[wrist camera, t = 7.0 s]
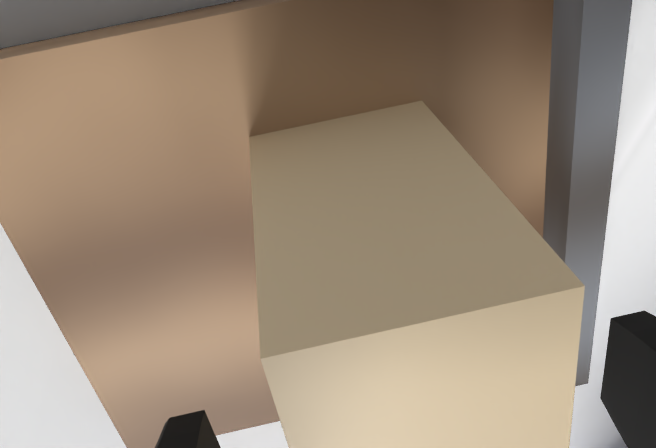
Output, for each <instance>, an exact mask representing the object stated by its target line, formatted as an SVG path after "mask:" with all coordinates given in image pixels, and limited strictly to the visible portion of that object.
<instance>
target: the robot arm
mask: <svg viewBox="0 0 656 448" xmlns="http://www.w3.org/2000/svg"><path fill="white" fill-rule="evenodd" d="M601 400H602V402H603V404H604V405H605V407H606V409H607V411H608V413H609V415H610V417H611V419H612V420H613V422H614V424H615V426H616V428H617V430H618V431H619V433H620V435H621V437H622V438H623V440H624V442H625V444H626V445H627V447H628V448H656V317H655V316H653V315H652V314H650V313H648V312H646V311H641V312H637V313H632V314H628V315H623V316H619V317H614V318H611V322H610V329H609V337H608V345H607V352H606V360H605V368H604V375H603V383H602V391H601ZM155 448H220V446H219V443H218V441H217V438H216V436H215V434H214V431H213V429H212V426H211V424H210V422H209V419H208V417H207V415H206V412H205V410H201V411H197V412H192V413H188V414H183V415H179V416H175V417H170V418H169V419H168V420H167V422H166V423H165V425H164V427H163V430H162V432H161V434H160V437H159V439H158V442H157V444H156V446H155Z"/></svg>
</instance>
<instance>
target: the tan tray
mask: <svg viewBox="0 0 656 448" xmlns="http://www.w3.org/2000/svg"><path fill="white" fill-rule="evenodd" d="M631 6H632V0H239V1H234V2H230V3H225V4H220V5H215V6H210V7H205V8H200V9H195V10H190V11H185V12H180V13H175V14H170V15H165V16H161V17H156V18H151V19H146V20H141V21H136V22H131V23H126V24H121V25H116V26H111V27H106V28H101V29H97V30H92V31H87V32H82V33H77V34H72V35H67V36H62V37H57V38H52V39H47V40H42V41H37V42H33V43H28V44H23V45H18V46H13V47H8V48H3V49H0V223H1V225H2V227H3V228H4V230H5V232H6V234H7V235H8V237H9V239H10V241H11V243H12V244H13V246H14V248H15V250H16V251H17V253H18V255H19V257H20V259H21V260H22V262H23V264H24V266H25V267H26V269H27V271H28V273H29V275H30V276H31V278H32V280H33V282H34V283H35V285H36V287H37V289H38V291H39V292H40V294H41V296H42V298H43V299H44V301H45V303H46V305H47V307H48V308H49V310H50V312H51V314H52V315H53V317H54V319H55V321H56V323H57V324H58V326H59V328H60V330H61V331H62V333H63V335H64V337H65V339H66V340H67V342H68V344H69V346H70V347H71V349H72V351H73V353H74V355H75V356H76V358H77V360H78V362H79V363H80V365H81V367H82V369H83V371H84V372H85V374H86V376H87V378H88V379H89V381H90V383H91V385H92V387H93V388H94V390H95V392H96V394H97V395H98V397H99V399H100V401H101V403H102V404H103V406H104V408H105V410H106V411H107V413H108V415H109V417H110V419H111V420H112V422H113V424H114V426H115V427H116V429H117V431H118V433H119V435H120V436H121V438H122V440H123V442H124V443H125V445H126V447H127V448H155V446H156V444H157V442H158V439H159V437H160V434H161V432H162V430H163V427H164V425H165V423H166V422H167V420H168V419H169V418H170V417H175V416H179V415H183V414H188V413H192V412H197V411H201V410H205V412H206V415H207V417H208V419H209V422H210V424H211V426H212V429H213V431H214V434H215V436H216V435H220V434H224V433H229V432H233V431H237V430H242V429H246V428H250V427H255V426H259V425H264V424H268V423H272V422H277V421H280V418H279V415H278V412H277V409H276V406H275V403H274V400H273V397H272V393H271V390H270V387H269V384H268V381H267V378H266V375H265V372H264V368H263V365H262V362H261V359H260V341H259V321H258V302H257V283H256V263H255V244H254V225H253V205H252V186H251V167H250V147H249V137H252V136H256V135H261V134H266V133H271V132H275V131H280V130H285V129H289V128H294V127H299V126H304V125H308V124H313V123H318V122H323V121H327V120H332V119H337V118H342V117H346V116H351V115H356V114H360V113H365V112H370V111H375V110H379V109H384V108H389V107H394V106H398V105H403V104H408V103H413V102H417V101H423V102H424V103H425V105H426V106H427V107H428V108H429V109H430V110H431V111H432V113H433V114H434V115H435V116H436V117H437V118H438V119H439V121H440V122H441V123H442V124H443V125H444V126H445V127H446V128H447V130H448V131H449V132H450V133H451V134H452V135H453V136H454V138H455V139H456V140H457V141H458V142H459V143H460V144H461V146H462V147H463V148H464V149H465V150H466V151H467V152H468V154H469V155H470V156H471V157H472V158H473V159H474V160H475V161H476V163H477V164H478V165H479V166H480V167H481V168H482V169H483V171H484V172H485V173H486V174H487V175H488V176H489V177H490V179H491V180H492V181H493V182H494V183H495V184H496V185H497V187H498V188H499V189H500V190H501V191H502V192H503V193H504V194H505V196H506V197H507V198H508V199H509V200H510V201H511V202H512V204H513V205H514V206H515V207H516V208H517V209H518V210H519V212H520V213H521V214H522V215H523V216H524V217H525V218H526V220H527V221H528V222H529V223H530V224H531V225H532V226H533V227H534V229H535V230H536V231H537V232H538V233H539V234H540V235H541V237H542V238H543V239H544V240H545V241H546V242H547V243H548V245H549V246H550V247H551V248H552V249H553V250H554V251H555V253H556V254H557V255H558V256H559V257H560V258H561V259H562V261H563V262H564V263H565V264H566V265H567V266H568V267H569V268H570V270H571V271H572V272H573V273H574V274H575V275H576V276H577V278H578V279H579V280H580V281H581V282H582V283H583V284H584V286H585V290H584V300H583V311H582V321H581V331H580V341H579V351H578V361H577V372H576V382H575V386H578V385H583V384H587V383H588V379H589V370H590V361H591V353H592V344H593V336H594V327H595V318H596V310H597V301H598V292H599V284H600V275H601V266H602V258H603V249H604V240H605V232H606V223H607V214H608V206H609V197H610V188H611V180H612V171H613V162H614V154H615V145H616V136H617V128H618V119H619V110H620V102H621V93H622V84H623V76H624V67H625V58H626V50H627V41H628V32H629V24H630V15H631Z"/></svg>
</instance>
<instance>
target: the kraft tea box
mask: <svg viewBox="0 0 656 448" xmlns="http://www.w3.org/2000/svg"><path fill="white" fill-rule="evenodd" d="M249 147H250V167H251V186H252V205H253V225H254V244H255V263H256V283H257V302H258V321H259V341H260V359H261V362H262V365H263V368H264V372H265V375H266V378H267V381H268V384H269V387H270V390H271V393H272V397H273V400H274V403H275V406H276V409H277V412H278V415H279V418H280V422H281V425H282V428H283V431H284V434H285V437H286V440H287V443H288V447H289V448H569V443H570V433H571V422H572V412H573V402H574V392H575V382H576V372H577V361H578V351H579V341H580V331H581V321H582V311H583V300H584V290H585V286H584V284H583V283H582V282H581V281H580V280H579V279H578V278H577V276H576V275H575V274H574V273H573V272H572V271H571V270H570V268H569V267H568V266H567V265H566V264H565V263H564V262H563V261H562V259H561V258H560V257H559V256H558V255H557V254H556V253H555V251H554V250H553V249H552V248H551V247H550V246H549V245H548V243H547V242H546V241H545V240H544V239H543V238H542V237H541V235H540V234H539V233H538V232H537V231H536V230H535V229H534V227H533V226H532V225H531V224H530V223H529V222H528V221H527V220H526V218H525V217H524V216H523V215H522V214H521V213H520V212H519V210H518V209H517V208H516V207H515V206H514V205H513V204H512V202H511V201H510V200H509V199H508V198H507V197H506V196H505V194H504V193H503V192H502V191H501V190H500V189H499V188H498V187H497V185H496V184H495V183H494V182H493V181H492V180H491V179H490V177H489V176H488V175H487V174H486V173H485V172H484V171H483V169H482V168H481V167H480V166H479V165H478V164H477V163H476V161H475V160H474V159H473V158H472V157H471V156H470V155H469V154H468V152H467V151H466V150H465V149H464V148H463V147H462V146H461V144H460V143H459V142H458V141H457V140H456V139H455V138H454V136H453V135H452V134H451V133H450V132H449V131H448V130H447V128H446V127H445V126H444V125H443V124H442V123H441V122H440V121H439V119H438V118H437V117H436V116H435V115H434V114H433V113H432V111H431V110H430V109H429V108H428V107H427V106H426V105H425V103H424V102H423V101H417V102H413V103H408V104H403V105H398V106H394V107H389V108H384V109H379V110H375V111H370V112H365V113H360V114H356V115H351V116H346V117H342V118H337V119H332V120H327V121H323V122H318V123H313V124H308V125H304V126H299V127H294V128H289V129H285V130H280V131H275V132H271V133H266V134H261V135H256V136H252V137H249Z"/></svg>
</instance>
